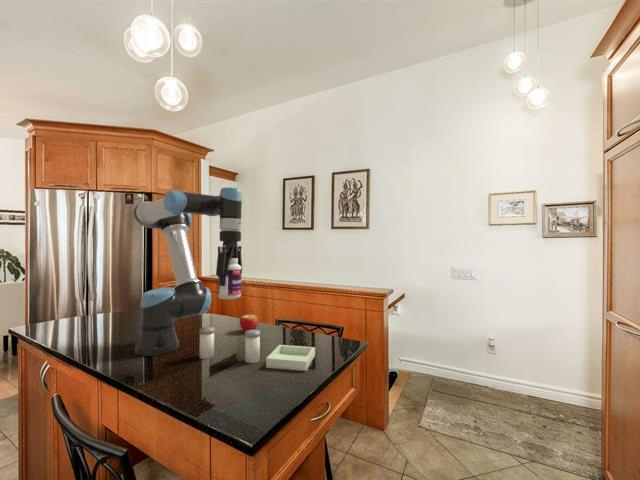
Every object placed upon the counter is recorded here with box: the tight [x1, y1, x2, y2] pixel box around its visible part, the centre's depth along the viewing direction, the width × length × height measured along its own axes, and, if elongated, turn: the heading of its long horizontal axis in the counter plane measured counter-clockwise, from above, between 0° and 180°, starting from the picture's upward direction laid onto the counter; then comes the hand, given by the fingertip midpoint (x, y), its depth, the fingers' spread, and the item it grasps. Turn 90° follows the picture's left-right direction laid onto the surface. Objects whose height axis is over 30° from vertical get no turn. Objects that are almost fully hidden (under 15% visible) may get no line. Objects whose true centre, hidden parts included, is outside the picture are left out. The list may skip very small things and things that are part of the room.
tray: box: [265, 344, 316, 372], centre depth 109 cm, size 14×14×3 cm
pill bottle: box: [217, 258, 242, 300], centre depth 112 cm, size 8×8×14 cm
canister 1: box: [198, 326, 216, 360], centre depth 113 cm, size 5×5×10 cm
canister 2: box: [244, 329, 261, 364], centre depth 110 cm, size 5×5×10 cm
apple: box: [239, 309, 259, 333], centre depth 145 cm, size 8×8×10 cm
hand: (229, 292), depth 112 cm, fingers closed on pill bottle, 8 cm apart
